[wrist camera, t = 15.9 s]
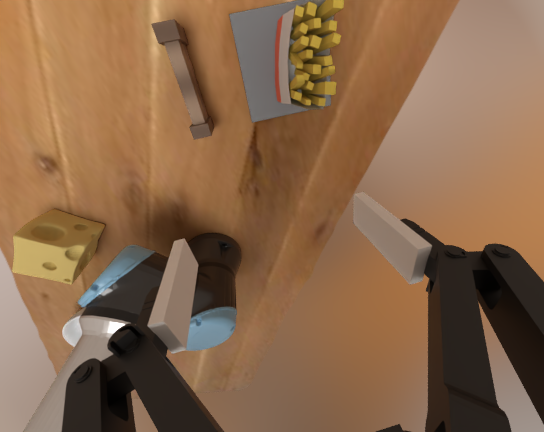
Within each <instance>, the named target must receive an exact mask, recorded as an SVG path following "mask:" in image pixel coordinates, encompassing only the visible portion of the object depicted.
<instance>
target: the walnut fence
mask: <svg viewBox="0 0 544 432" xmlns="http://www.w3.org/2000/svg"><path fill="white" fill-rule="evenodd" d="M152 27H153V30H154V32H155V35H156V38H157V40H158V43H159V44H162V45H164V46H165V47H166V50H167V53H168V56H169V59H170V61H171V64H172V67H173V70H174V73H175V75H176V78H177V81H178V84H179V87H180V89H181V92H182V95H183V98H184V101H185V103H186V106H187V109H188V112H189V115H190V118H191V120H192V125H191V126H190V130H191V133H192V136H193V138H194V140H195V139H199V138H204V137H208V136H212V132H213V129H214V126H213V122H212V119H211V117H208V115H207V112H206V109H205V106H204V102H203V99H202V96H201V93H200V90H199V87H198V83H197V80H196V77H195V74H194V71H193V67H192V64H191V61H190V58H189V55H188V52H187V48H186V45H188V41H187V38H186V35H185V31H184V28H182V27H181V26H180V25H179V24H178V23H177V22H176V21H175V20H174V19H173V20H168V21H163V22H158V23H153V24H152Z"/></svg>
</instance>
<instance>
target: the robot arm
mask: <svg viewBox="0 0 544 432" xmlns="http://www.w3.org/2000/svg"><path fill="white" fill-rule="evenodd" d="M353 213H354V214H353V223H354V224H355V225H356V226H357V228H358V229H359V230H360V231H361V232H362V233H363V234H364V235H365V236H366V237H367V238H368V239H369V241H370V242H371V243H372V244H373V245H374V246H375V247H376V248H377V249H378V250H379V251H380V253H381V254H382V255H383V256H384V257H385V258H386V259H387V260H388V261H389V262H390V263H391V264H392V265H393V267H394V268H395V269H396V270H397V271H398V272H399V273H400V274H401V275H402V277H403V278H404V279H405V280H406V281H407V282H408V283H409V284H414V283H417V282H420V281H422V280H423V276H424V274H425V275H426V276H427V277H428V278H429V282H428V285H427V288H426V291H427V292H428V413H427V419H426V427H425V432H511V428H510V424H509V420H508V418H507V416H506V414H505V412H504V411H503V410H501V409H500V408H499V406H498V404H497V400H496V395H495V389H494V384H493V379H492V373H491V368H490V363H489V358H488V352H487V347H486V342H485V336H484V330H483V325H482V320H481V315H480V309H479V304H478V301H479V303H480V305H481V307H482V309H483V311H484V313H485V315H486V317H487V318H488V320H489V322H490V324H491V326H492V328H493V329H494V332H495V333H496V335H497V337H498V339H499V341H500V343H501V344H502V347H503V348H504V350H505V352H506V354H507V356H508V358H509V360H510V362H511V363H512V365H513V367H514V369H515V371H516V373H517V375H518V377H519V379H520V380H521V382H522V384H523V386H524V388H525V390H526V392H527V394H528V395H529V397H530V399H531V401H532V403H533V405H534V407H535V409H536V411H537V412H538V414H539V416H540V418H541V420H542V422H543V424H544V282H543V281H542V279H541V278H540V277H539V276H538V275H537V274H536V272H535V271H534V270H533V269H532V268H531V267H530V266H529V265H528V263H527V262H526V261H525V260H524V259H523V257H522V256H521V255H520V254H519V253H518V252H517V251H516V250H514V249H512V248H510V247H508V246H505V245H501V244H488V245H486V246H485V248H484V250H483V251H479V252H477V251H476V252H466V251H465V250H464V249H462V248H459V247H456V246H452V245H444V244H443V243H442V242H440V241H439V240H438V239H436V238H435V237H433V236H432V235H431V234H429V233H428V232H426V231H425V230H424V229H423V228H420V227H419V225H417V224H416V223H414V222H412V221H410V220H407V219H402V220H399V219H398V218H396V217H395V216H394V215H393V214H391V213H390V212H389V211H388V210H386V209H385V208H383V207H382V206H381V205H380V204H379V203H377V202H376V201H375V200H373V199H372V198H371V197H370V196H368V195H367V194H366V193H365V192H360V193H356V194H354V212H353ZM240 263H241V250H240V247H239V246H238V244H237V243H236V242H235V241H234V240H233V239H231V238H230V237H228V236H226V235H222V234H217V233H207V234H202V235H199V236H197V237H195V238H193V239H192V240H191V241H190V242H189V243H188V244H187V242H186V240H185V238H184V239H180V240H176V241H174V244H173V247H172V250H171V253H170V256H169V258H168V257H165V256H163V255H161V254H159V253H157V252H156V251H154V250H149V249H146V248H144V247H141V246H139V245H129V246H126V247H125V248H124V249H123V250H122V251H121V252H120V253H119V254H118V255H117V256H116V257H115V259H114V260H113V261H112V262H111V263H110V264H109V265H108V267H107V268H106V269H105V270H104V271H103V272H102V274H101V275H100V276H99V277H98V278H97V279H96V281H95V282H94V283H93V284H92V285H91V286H90V288H89V289H88V290H87V291H86V292H85V293H84V294H83V295H82V297H81V298H80V299H79V300H78V304H79V305H81V307H86V309H85V310H84V312H83V313H82V315H81V316H80V318H79V323H80V327H81V330H82V336H81V337H80V339H79V341H78V342H77V344H76V346H75V347H74V349H73V350H72V352H71V354H70V355H69V357H68V359H67V360H66V362H65V364H64V365H63V367H62V369H61V370H60V372H59V373H58V375H57V377H56V378H55V380H54V382H53V383H52V385H51V387H50V388H49V390H48V391H47V393H46V395H45V397H44V398H43V400H42V401H41V403H40V405H39V406H38V408H37V409H36V411H35V413H34V414H33V416H32V418H31V419H30V421H29V423H28V424H27V426H26V427H25V429H24V431H23V432H136V429H135V422H134V414H133V406H132V399H131V391H133V390H134V389H135V390H136V391H137V393H138V395H139V397H140V399H141V400H142V402H143V404H144V406H145V408H146V410H147V411H148V413H149V415H150V417H151V419H152V421H153V423H154V424H155V426H156V428H157V430H158V432H224V431H223V430H222V428H221V427H220V426H219V424H218V423H217V422H216V420H215V419H214V418H213V417H212V415H211V414H210V413H209V411H208V410H207V409H206V407H205V406H204V405H203V404H202V402H201V401H200V400H199V398H198V397H197V396H196V394H195V393H194V392H193V390H192V389H191V388H190V386H189V385H188V384H187V383H186V381H185V380H184V379H183V377H182V376H181V375H180V373H179V372H178V371H177V370H176V368H175V367H174V366H173V364H172V363H171V362H170V360H169V359H168V358H167V357H166V354H167V349H169V350H170V352H171V353H172V354H173V353H176V352H180V351H183V350H191V351H195V350H203V349H208V348H211V347H214V346H217V345H219V344H221V343H223V342H224V341H226V340H227V339H228V338H229V337H230V336H231V335H232V334H233V332H234V330H235V326H236V315H237V310H236V289H235V276H236V274H237V271H238V269H239V266H240ZM376 432H410V431H403V430H402V428H401V426H400V424H398V425H395V426H392V427H389V428H386V429H383V430H380V431H376Z"/></svg>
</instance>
